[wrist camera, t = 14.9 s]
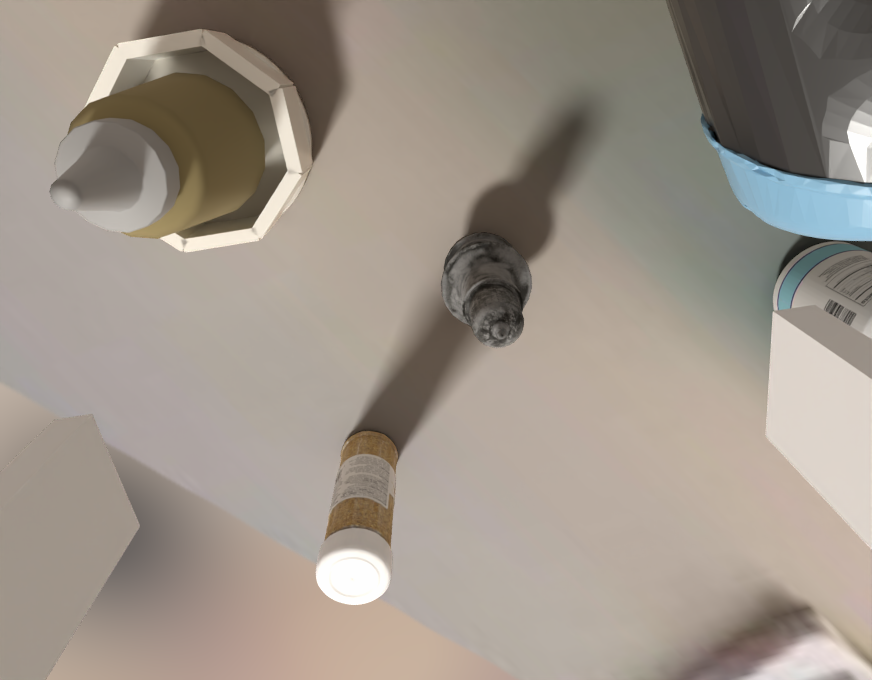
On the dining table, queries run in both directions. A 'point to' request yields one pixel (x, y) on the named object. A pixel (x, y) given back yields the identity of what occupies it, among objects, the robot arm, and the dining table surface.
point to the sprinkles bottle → (360, 522)
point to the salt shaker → (487, 287)
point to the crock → (258, 90)
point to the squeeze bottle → (160, 157)
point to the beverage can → (830, 283)
